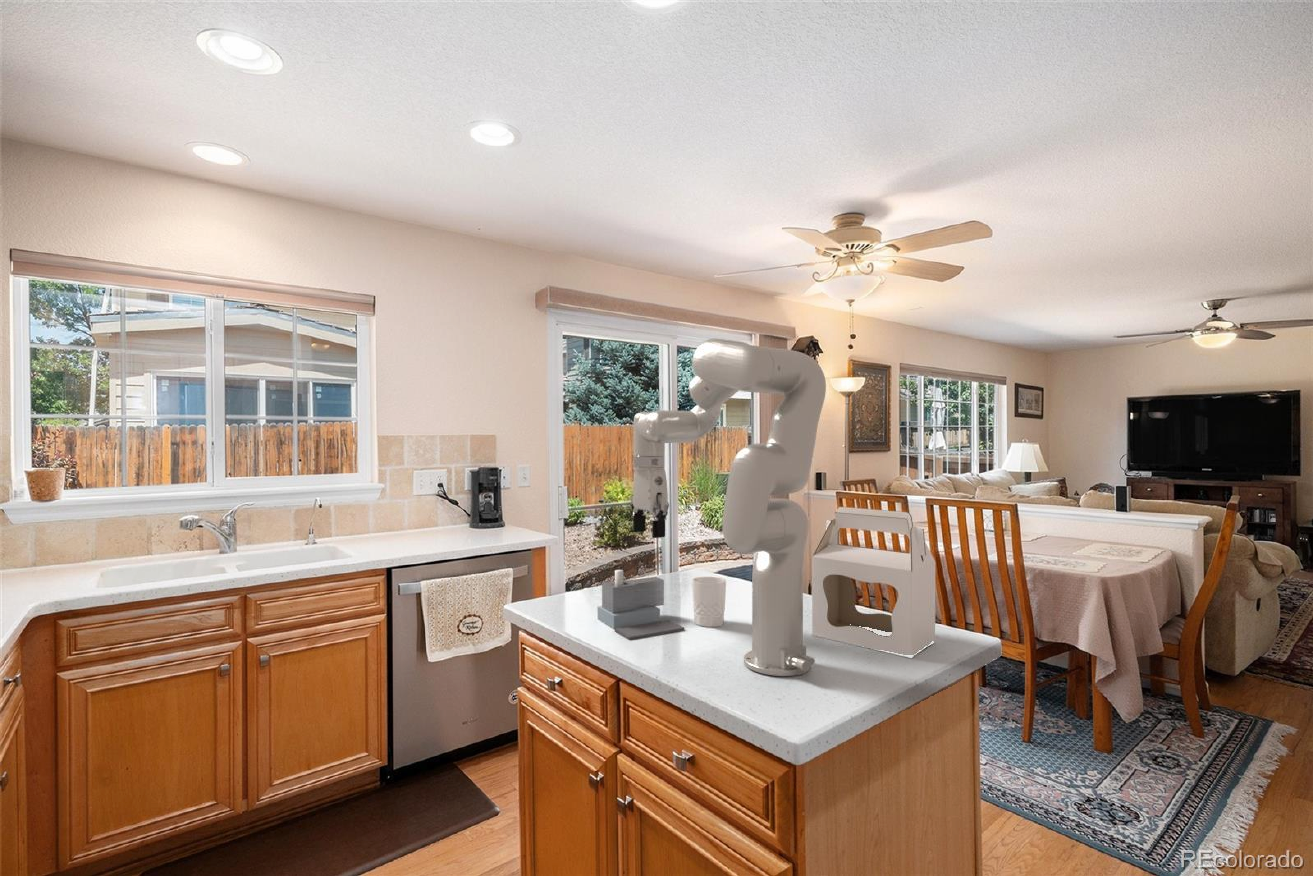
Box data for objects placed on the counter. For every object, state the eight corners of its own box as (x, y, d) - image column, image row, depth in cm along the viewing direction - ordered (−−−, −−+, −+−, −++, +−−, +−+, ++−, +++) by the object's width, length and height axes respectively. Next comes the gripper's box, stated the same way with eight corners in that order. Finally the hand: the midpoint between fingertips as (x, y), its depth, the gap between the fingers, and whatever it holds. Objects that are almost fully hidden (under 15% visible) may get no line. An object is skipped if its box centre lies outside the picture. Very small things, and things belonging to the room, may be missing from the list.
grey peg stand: (613, 629, 143) (613, 576, 143) (597, 619, 151) (597, 568, 151) (659, 621, 149) (660, 570, 149) (641, 612, 157) (642, 563, 157)
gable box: (810, 635, 139) (810, 507, 139) (838, 622, 149) (838, 503, 149) (912, 659, 124) (913, 516, 124) (936, 643, 134) (937, 511, 134)
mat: (684, 630, 143) (684, 627, 143) (628, 640, 136) (628, 637, 136) (668, 622, 149) (668, 619, 149) (614, 631, 142) (614, 628, 142)
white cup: (725, 618, 152) (725, 577, 152) (726, 628, 144) (726, 584, 144) (692, 617, 153) (692, 576, 153) (691, 627, 145) (691, 583, 145)
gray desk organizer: (613, 613, 145) (613, 587, 145) (602, 607, 150) (602, 582, 150) (665, 606, 152) (665, 580, 152) (653, 600, 157) (653, 576, 157)
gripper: (681, 464, 147) (680, 538, 147) (645, 461, 162) (645, 528, 162) (652, 465, 144) (652, 541, 144) (619, 462, 159) (618, 530, 159)
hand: (648, 534), depth 153 cm, fingers open, 9 cm apart
